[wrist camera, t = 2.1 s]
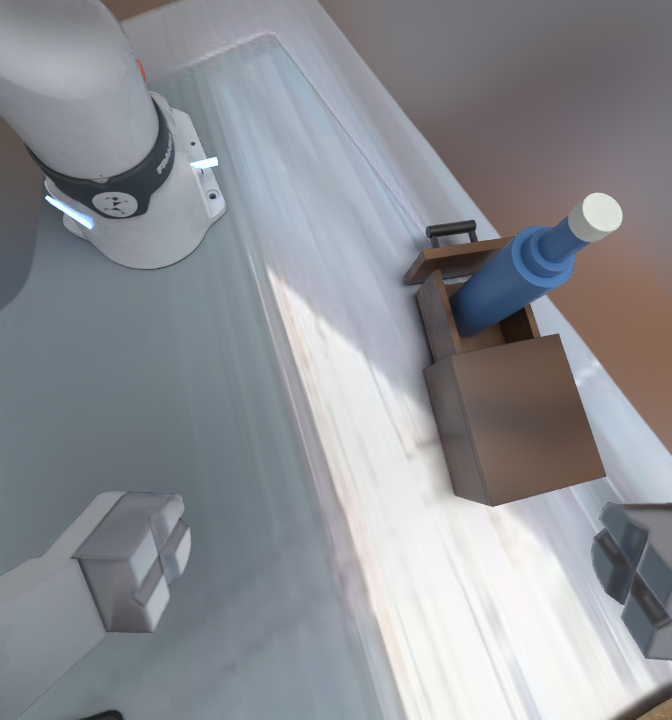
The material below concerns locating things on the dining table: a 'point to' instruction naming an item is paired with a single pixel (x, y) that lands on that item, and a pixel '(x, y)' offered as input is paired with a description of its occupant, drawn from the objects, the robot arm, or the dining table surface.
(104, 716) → the phone
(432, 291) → the drawer
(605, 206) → the bottle
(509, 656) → the dining table surface
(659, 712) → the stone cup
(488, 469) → the cabinet
